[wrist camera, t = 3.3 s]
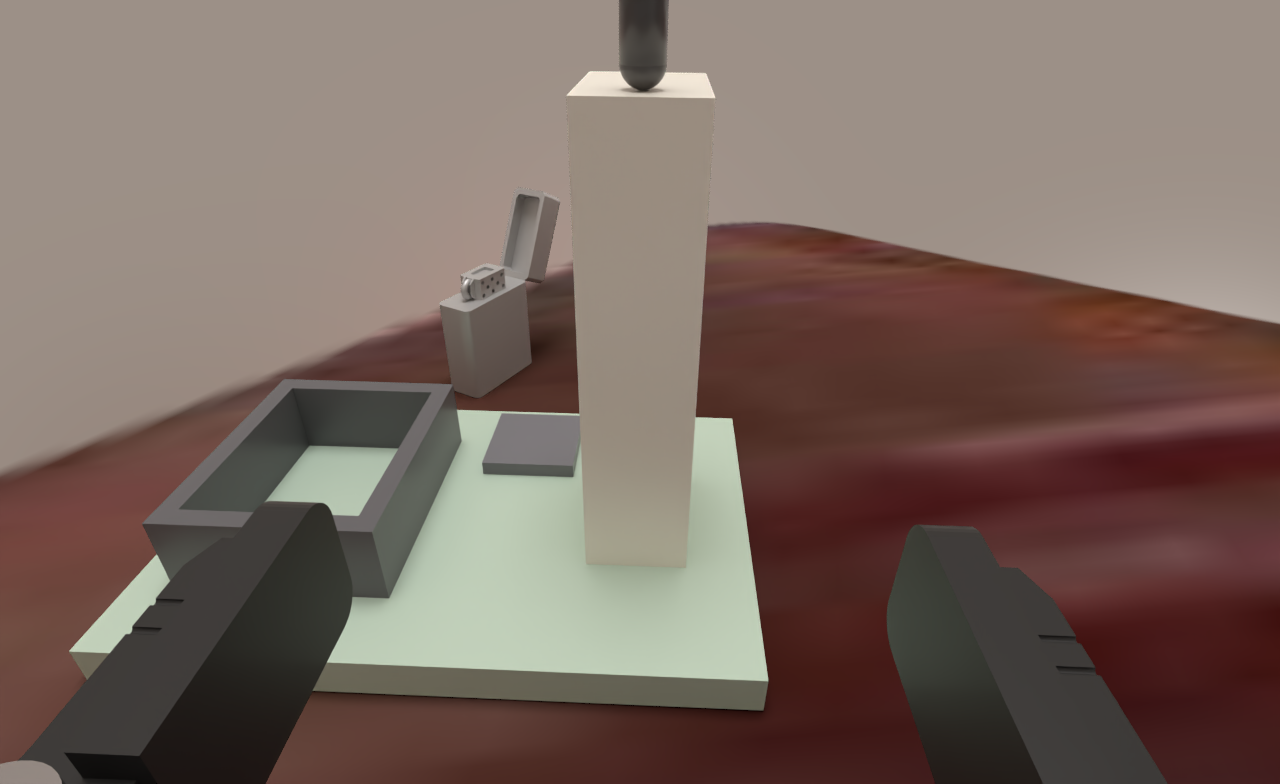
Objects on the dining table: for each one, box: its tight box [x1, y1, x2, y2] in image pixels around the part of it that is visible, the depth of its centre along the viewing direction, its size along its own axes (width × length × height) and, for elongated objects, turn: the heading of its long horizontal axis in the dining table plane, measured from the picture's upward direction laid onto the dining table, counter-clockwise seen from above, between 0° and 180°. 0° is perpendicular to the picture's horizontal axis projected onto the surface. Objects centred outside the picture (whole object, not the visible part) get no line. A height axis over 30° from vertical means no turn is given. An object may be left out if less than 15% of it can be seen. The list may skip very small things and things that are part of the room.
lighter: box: [440, 187, 560, 398], centre depth 32 cm, size 7×2×8 cm, turn 151°
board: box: [69, 379, 768, 711], centre depth 22 cm, size 18×12×4 cm, turn 88°
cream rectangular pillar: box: [566, 0, 716, 568], centre depth 18 cm, size 3×4×17 cm, turn 178°
